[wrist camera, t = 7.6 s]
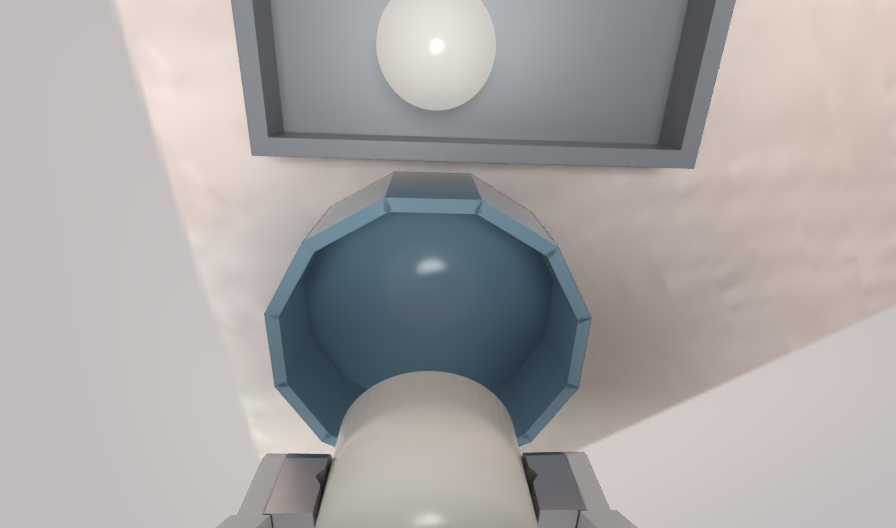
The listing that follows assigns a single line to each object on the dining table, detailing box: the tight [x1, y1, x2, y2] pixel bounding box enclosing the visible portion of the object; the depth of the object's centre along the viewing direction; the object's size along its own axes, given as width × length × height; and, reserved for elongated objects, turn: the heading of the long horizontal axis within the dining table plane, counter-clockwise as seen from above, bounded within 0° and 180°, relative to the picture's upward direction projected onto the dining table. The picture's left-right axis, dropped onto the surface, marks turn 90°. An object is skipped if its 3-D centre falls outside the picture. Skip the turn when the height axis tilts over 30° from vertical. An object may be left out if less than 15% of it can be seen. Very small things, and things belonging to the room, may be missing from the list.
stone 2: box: [315, 371, 539, 528], centre depth 10 cm, size 5×5×3 cm
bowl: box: [264, 172, 591, 447], centre depth 23 cm, size 15×15×6 cm
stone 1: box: [376, 0, 496, 111], centre depth 18 cm, size 5×5×3 cm
